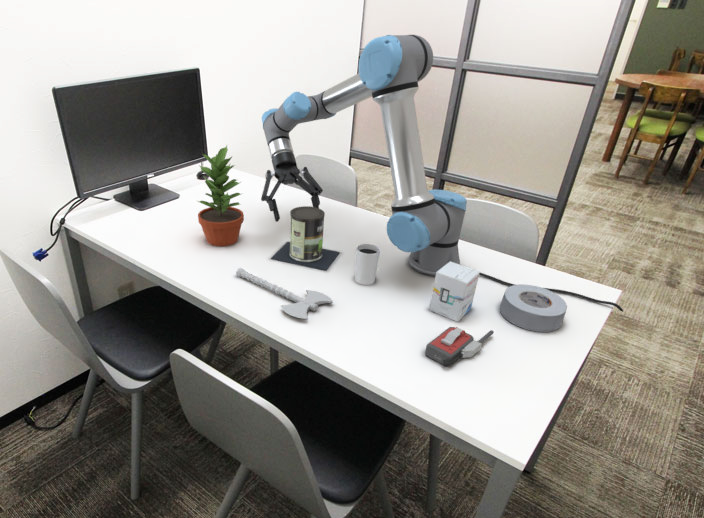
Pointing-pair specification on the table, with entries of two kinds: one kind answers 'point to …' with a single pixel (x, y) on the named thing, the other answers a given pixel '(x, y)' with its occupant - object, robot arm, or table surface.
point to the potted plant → (220, 204)
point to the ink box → (454, 290)
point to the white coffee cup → (366, 263)
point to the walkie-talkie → (454, 345)
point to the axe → (290, 296)
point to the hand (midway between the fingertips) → (298, 217)
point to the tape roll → (533, 308)
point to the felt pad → (321, 264)
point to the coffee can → (306, 233)
